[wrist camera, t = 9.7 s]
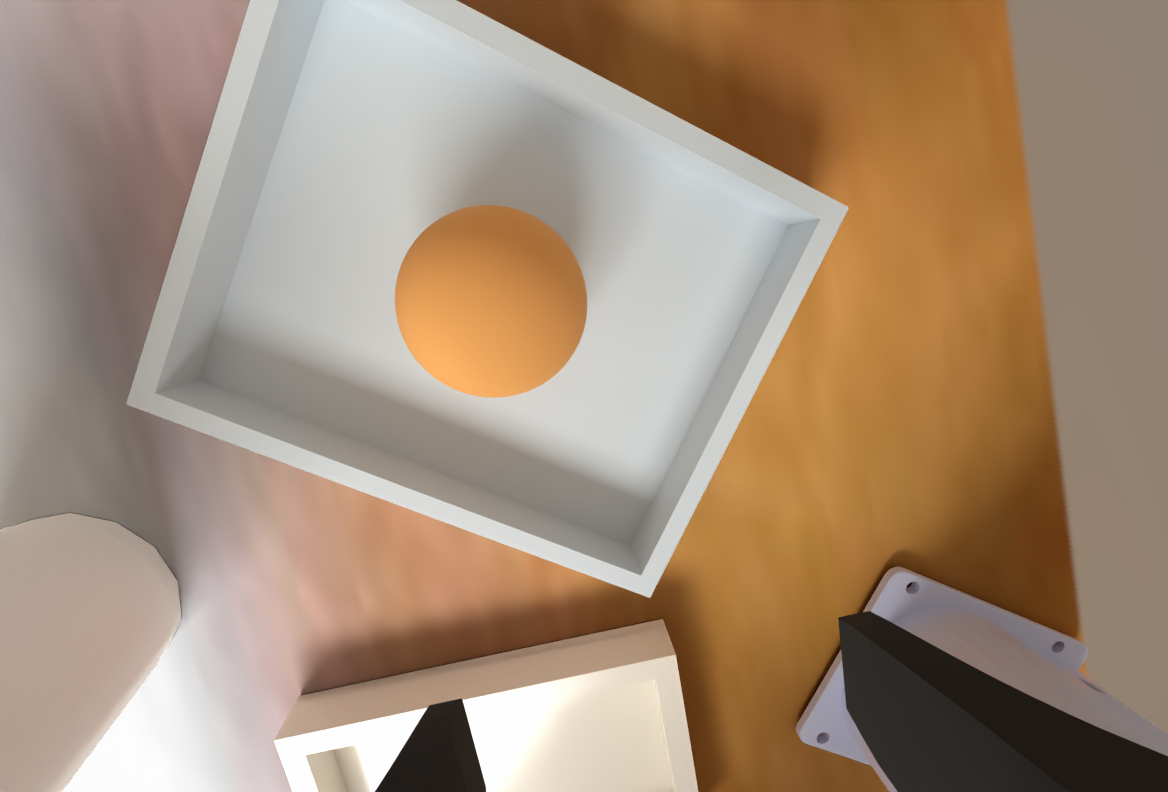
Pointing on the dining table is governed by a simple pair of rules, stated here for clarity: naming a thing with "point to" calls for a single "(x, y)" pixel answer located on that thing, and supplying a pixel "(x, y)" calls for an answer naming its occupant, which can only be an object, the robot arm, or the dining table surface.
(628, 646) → the dish
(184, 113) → the dining table surface
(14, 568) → the foam cup
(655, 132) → the tray
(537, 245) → the ball
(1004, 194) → the dining table surface
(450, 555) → the dining table surface
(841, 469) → the dining table surface
